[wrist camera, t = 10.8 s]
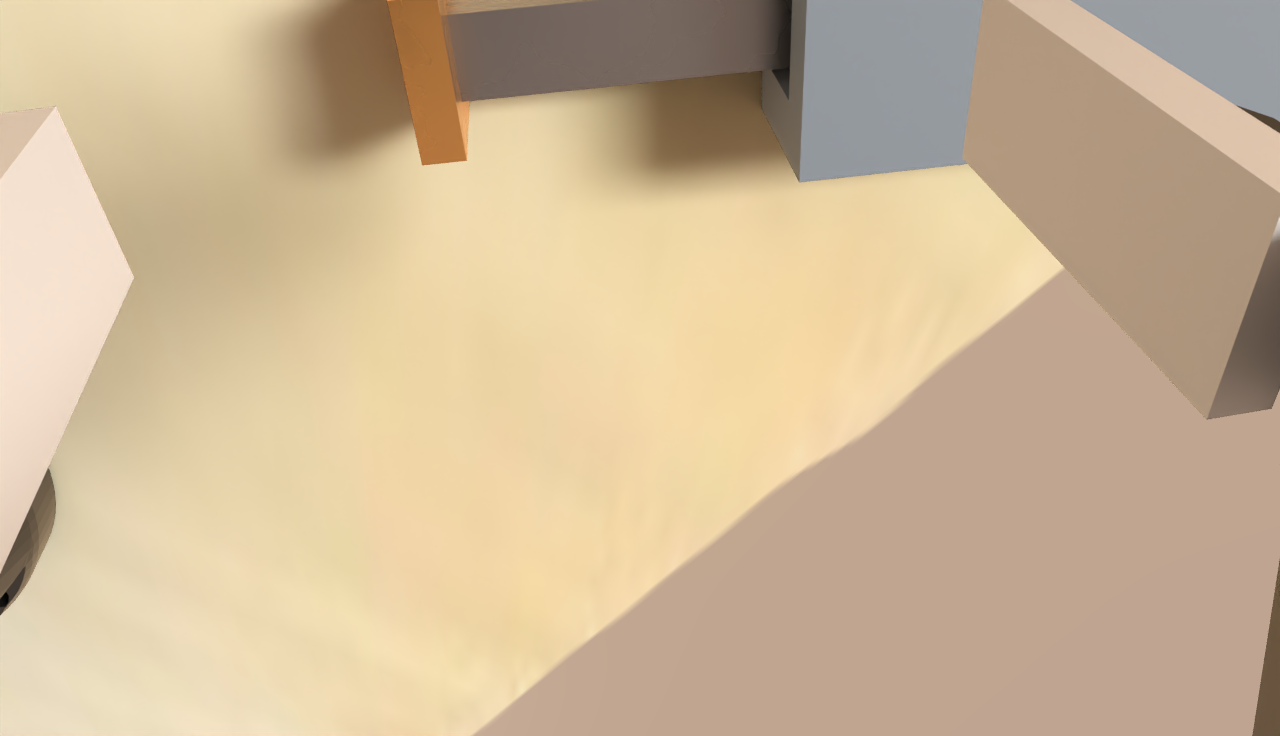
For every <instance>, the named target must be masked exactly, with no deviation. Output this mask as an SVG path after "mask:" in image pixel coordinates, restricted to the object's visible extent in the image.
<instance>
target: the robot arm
mask: <svg viewBox="0 0 1280 736" xmlns="http://www.w3.org/2000/svg"><path fill="white" fill-rule="evenodd" d="M962 158H963V159H964V160H965V161H966V162H967V164H968V165H969V166H970V167H971V168H972V169H973V170H974V171H975V172H976V173H977V174H978V175H979V176H980V177H981V179H982V180H983V181H984V182H985V183H986V184H987V185H988V186H989V187H990V188H991V189H992V190H993V191H994V192H995V194H996V195H997V196H998V197H999V198H1000V199H1001V200H1002V201H1003V202H1004V203H1005V204H1006V205H1007V206H1008V207H1009V209H1010V210H1011V211H1012V212H1013V213H1014V214H1015V215H1016V216H1017V217H1018V218H1019V219H1020V220H1021V221H1022V222H1023V224H1024V225H1025V226H1026V227H1027V228H1028V229H1029V230H1030V231H1031V232H1032V233H1033V234H1034V235H1035V236H1036V237H1037V239H1038V240H1039V241H1040V242H1041V243H1042V244H1043V245H1044V246H1045V247H1046V248H1047V249H1048V250H1049V251H1050V252H1051V253H1052V255H1053V256H1054V257H1055V258H1056V259H1057V260H1058V261H1059V262H1060V263H1061V264H1062V265H1063V266H1064V267H1065V268H1066V270H1067V271H1068V272H1069V273H1070V274H1071V275H1072V276H1073V277H1074V278H1075V279H1076V280H1077V281H1078V282H1079V283H1080V284H1081V286H1082V287H1083V288H1084V289H1085V290H1086V291H1087V292H1088V293H1089V294H1090V295H1091V296H1092V297H1093V298H1094V300H1095V301H1096V302H1097V303H1098V304H1099V305H1100V306H1101V307H1102V308H1103V309H1104V310H1105V311H1106V312H1107V313H1108V315H1109V316H1110V317H1111V318H1112V319H1113V320H1114V321H1115V322H1116V323H1117V324H1118V325H1119V326H1120V327H1121V328H1122V330H1123V331H1125V333H1126V334H1127V335H1128V336H1129V337H1130V338H1131V339H1132V340H1133V341H1134V342H1135V343H1136V344H1137V346H1138V347H1139V348H1140V349H1141V350H1142V351H1143V352H1144V353H1145V354H1146V355H1147V356H1148V357H1149V358H1150V359H1151V361H1153V363H1154V364H1155V365H1156V366H1157V367H1158V368H1159V369H1160V370H1161V371H1162V372H1163V373H1164V374H1165V376H1166V377H1167V378H1168V379H1169V380H1170V381H1171V382H1172V383H1173V384H1174V385H1175V386H1176V387H1177V388H1178V389H1179V390H1180V391H1181V393H1183V395H1184V396H1185V397H1186V398H1187V399H1188V400H1189V401H1190V402H1191V403H1192V404H1193V406H1194V407H1195V408H1196V409H1197V410H1198V411H1199V412H1200V413H1201V414H1202V415H1203V416H1204V417H1205V418H1206V419H1212V418H1219V417H1224V416H1231V415H1237V414H1243V413H1249V412H1254V411H1260V410H1266V409H1272V406H1273V404H1274V401H1275V399H1276V397H1277V394H1278V392H1279V389H1280V122H1279V121H1278V120H1276V119H1274V118H1272V117H1269V116H1266V115H1263V114H1261V113H1258V112H1255V111H1252V110H1249V109H1246V108H1243V107H1240V106H1237V105H1234V104H1233V103H1231V102H1230V101H1228V100H1226V99H1225V98H1223V97H1222V96H1220V95H1219V94H1217V93H1215V92H1214V91H1212V90H1211V89H1209V88H1208V87H1206V86H1204V85H1203V84H1201V83H1200V82H1198V81H1197V80H1195V79H1193V78H1192V77H1190V76H1189V75H1187V74H1186V73H1184V72H1182V71H1181V70H1179V69H1178V68H1176V67H1175V66H1173V65H1171V64H1170V63H1168V62H1167V61H1165V60H1164V59H1162V58H1160V57H1159V56H1157V55H1156V54H1154V53H1153V52H1151V51H1149V50H1148V49H1146V48H1145V47H1143V46H1142V45H1140V44H1138V43H1137V42H1135V41H1134V40H1132V39H1131V38H1129V37H1127V36H1126V35H1124V34H1123V33H1121V32H1120V31H1118V30H1116V29H1115V28H1113V27H1112V26H1110V25H1109V24H1107V23H1105V22H1104V21H1102V20H1101V19H1099V18H1098V17H1096V16H1094V15H1093V14H1091V13H1090V12H1088V11H1087V10H1085V9H1083V8H1082V7H1080V6H1079V5H1077V4H1076V3H1074V2H1072V1H1071V0H983V5H982V12H981V20H980V27H979V35H978V42H977V50H976V57H975V65H974V72H973V80H972V87H971V95H970V102H969V110H968V118H967V125H966V133H965V140H964V148H963V155H962ZM133 279H134V276H133V274H132V272H131V270H130V267H129V265H128V263H127V261H126V259H125V256H124V254H123V252H122V250H121V248H120V246H119V243H118V241H117V239H116V237H115V235H114V232H113V230H112V228H111V226H110V224H109V222H108V219H107V217H106V215H105V213H104V211H103V208H102V206H101V204H100V202H99V200H98V197H97V195H96V193H95V191H94V189H93V187H92V184H91V182H90V180H89V178H88V176H87V173H86V171H85V169H84V167H83V165H82V162H81V160H80V158H79V156H78V154H77V152H76V149H75V147H74V145H73V143H72V141H71V138H70V136H69V134H68V132H67V130H66V128H65V125H64V123H63V121H62V119H61V117H60V114H59V112H58V110H57V108H56V106H54V107H47V108H39V109H31V110H24V111H16V112H8V113H1V114H0V615H1V614H2V613H3V612H4V611H5V610H6V609H7V608H8V607H9V606H10V605H11V604H12V603H13V602H14V601H15V600H16V598H17V597H18V596H19V594H20V593H21V591H22V590H23V589H24V587H25V586H26V584H27V582H28V581H29V579H30V577H31V575H32V573H33V571H34V569H35V567H36V565H37V562H38V560H39V558H40V556H41V554H42V552H43V550H44V548H45V545H46V543H47V541H48V539H49V537H50V534H51V531H52V528H53V524H54V519H55V511H56V500H55V491H54V485H53V481H52V478H51V474H50V471H49V469H48V467H49V465H50V462H51V460H52V458H53V456H54V453H55V451H56V449H57V447H58V445H59V442H60V440H61V438H62V436H63V434H64V431H65V429H66V427H67V425H68V422H69V420H70V418H71V416H72V414H73V411H74V409H75V407H76V405H77V403H78V400H79V398H80V396H81V394H82V392H83V389H84V387H85V385H86V383H87V380H88V378H89V376H90V374H91V372H92V369H93V367H94V365H95V363H96V361H97V358H98V356H99V354H100V352H101V350H102V347H103V345H104V343H105V341H106V338H107V336H108V334H109V332H110V330H111V327H112V325H113V323H114V321H115V319H116V316H117V314H118V312H119V310H120V308H121V305H122V303H123V301H124V299H125V296H126V294H127V292H128V290H129V288H130V285H131V283H132V281H133ZM1253 736H1280V561H1279V568H1278V574H1277V581H1276V587H1275V594H1274V600H1273V607H1272V613H1271V620H1270V626H1269V633H1268V639H1267V645H1266V652H1265V658H1264V665H1263V672H1262V678H1261V684H1260V691H1259V697H1258V704H1257V710H1256V716H1255V724H1254V729H1253Z"/></svg>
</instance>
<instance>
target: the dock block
mask: <svg viewBox="0 0 1280 736" xmlns="http://www.w3.org/2000/svg"><path fill="white" fill-rule="evenodd" d="M1071 1H1072V2H1074V3H1076V4H1077V5H1079V6H1080V7H1082V8H1083V9H1085V10H1087V11H1088V12H1090V13H1091V14H1093V15H1094V16H1096V17H1098V18H1099V19H1101V20H1102V21H1104V22H1105V23H1107V24H1109V25H1110V26H1112V27H1113V28H1115V29H1116V30H1118V31H1120V32H1121V33H1123V34H1124V35H1126V36H1127V37H1129V38H1131V39H1132V40H1134V41H1135V42H1137V43H1138V44H1140V45H1142V46H1143V47H1145V48H1146V49H1148V50H1149V51H1151V52H1153V53H1154V54H1156V55H1157V56H1159V57H1160V58H1162V59H1164V60H1165V61H1167V62H1168V63H1170V64H1171V65H1173V66H1175V67H1176V68H1178V69H1179V70H1181V71H1182V72H1184V73H1186V74H1187V75H1189V76H1190V77H1192V78H1193V79H1195V80H1197V81H1198V82H1200V83H1201V84H1203V85H1204V86H1206V87H1208V88H1209V89H1211V90H1212V91H1214V92H1215V93H1217V94H1219V95H1220V96H1222V97H1223V98H1225V99H1226V100H1228V101H1230V102H1231V103H1233V104H1234V105H1237V106H1240V107H1243V108H1246V109H1249V110H1252V111H1255V112H1258V113H1261V114H1263V115H1266V116H1269V117H1272V118H1274V119H1276V120H1278V121H1279V122H1280V0H1071ZM982 5H983V0H792V20H791V51H790V68H783V69H773V70H763V71H762V110H763V112H764V114H765V116H766V118H767V120H768V122H769V124H770V126H771V128H772V130H773V132H774V134H775V136H776V138H777V140H778V142H779V143H780V145H781V147H782V149H783V151H784V153H785V155H786V157H787V159H788V161H789V163H790V165H791V167H792V169H793V171H794V173H795V175H796V177H797V179H798V181H799V182H807V181H816V180H825V179H834V178H843V177H853V176H862V175H871V174H880V173H889V172H898V171H907V170H916V169H925V168H934V167H944V166H953V165H962V164H967V162H966V161H965V160H964V159H963V158H962V155H963V148H964V140H965V133H966V125H967V118H968V110H969V102H970V95H971V87H972V80H973V72H974V65H975V57H976V50H977V42H978V35H979V27H980V20H981V12H982Z"/></svg>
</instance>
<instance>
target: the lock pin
mask: <svg viewBox="0 0 1280 736" xmlns="http://www.w3.org/2000/svg"><path fill="white" fill-rule="evenodd" d="M387 3H388V8H389V12H390V17H391V22H392V26H393V31H394V36H395V40H396V45H397V50H398V54H399V59H400V64H401V68H402V73H403V78H404V82H405V87H406V92H407V97H408V101H409V106H410V111H411V115H412V120H413V125H414V129H415V134H416V139H417V143H418V148H419V153H420V157H421V162H422V165H430V164H439V163H449V162H458V161H467V144H468V123H469V102H470V101H474V100H484V99H494V98H503V97H513V96H523V95H532V94H542V93H551V92H561V91H571V90H580V89H590V88H600V87H609V86H619V85H628V84H638V83H648V82H657V81H667V80H677V79H686V78H696V77H706V76H715V75H725V74H734V73H744V72H754V71H763V70H773V69H783V68H790V51H791V20H792V0H387Z"/></svg>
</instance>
